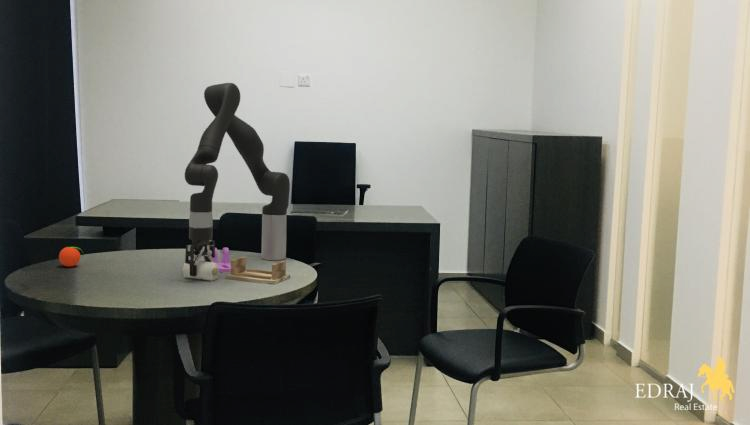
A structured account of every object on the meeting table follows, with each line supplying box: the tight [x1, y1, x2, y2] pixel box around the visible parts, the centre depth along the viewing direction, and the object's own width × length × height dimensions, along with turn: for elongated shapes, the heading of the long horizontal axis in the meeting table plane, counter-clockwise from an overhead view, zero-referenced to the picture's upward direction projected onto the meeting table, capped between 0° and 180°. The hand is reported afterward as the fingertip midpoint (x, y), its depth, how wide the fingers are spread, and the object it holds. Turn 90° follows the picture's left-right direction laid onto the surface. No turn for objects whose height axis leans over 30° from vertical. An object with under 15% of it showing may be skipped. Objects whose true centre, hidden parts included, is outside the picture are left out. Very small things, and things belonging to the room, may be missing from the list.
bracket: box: [211, 247, 231, 273], centre depth 269 cm, size 13×6×7 cm, turn 27°
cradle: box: [225, 256, 291, 285], centre depth 256 cm, size 12×18×6 cm, turn 71°
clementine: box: [58, 245, 85, 268], centre depth 264 cm, size 8×7×7 cm
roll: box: [182, 260, 220, 282], centre depth 252 cm, size 11×6×6 cm, turn 71°
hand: (200, 273), depth 252 cm, fingers open, 8 cm apart
